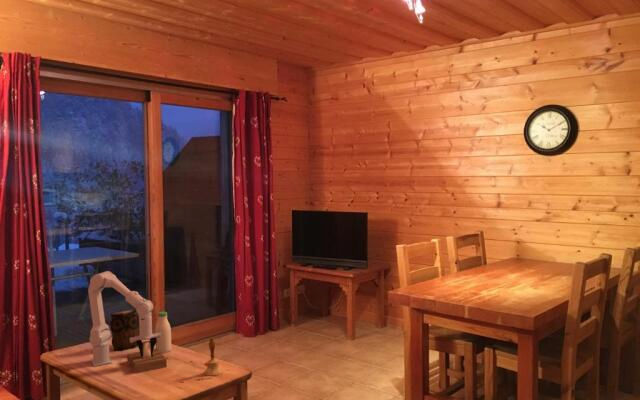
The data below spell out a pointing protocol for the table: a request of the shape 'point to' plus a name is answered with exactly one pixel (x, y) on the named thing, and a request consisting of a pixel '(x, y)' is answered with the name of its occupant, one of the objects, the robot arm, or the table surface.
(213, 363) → the hand bell
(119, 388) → the table surface
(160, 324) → the milk bottle
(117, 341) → the owl
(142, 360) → the walnut holder
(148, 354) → the cream peg
